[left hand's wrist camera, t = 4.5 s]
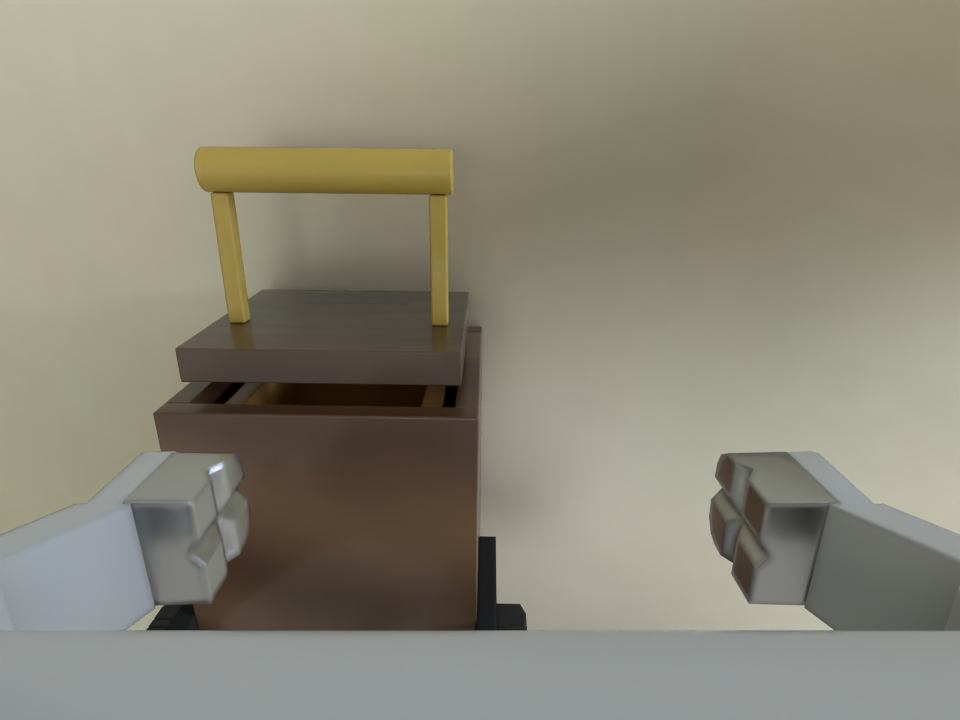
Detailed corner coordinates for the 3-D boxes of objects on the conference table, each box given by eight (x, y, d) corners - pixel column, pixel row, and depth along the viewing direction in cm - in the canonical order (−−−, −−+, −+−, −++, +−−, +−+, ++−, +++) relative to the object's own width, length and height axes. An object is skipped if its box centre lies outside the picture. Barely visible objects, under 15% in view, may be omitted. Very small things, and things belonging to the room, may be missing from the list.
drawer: (244, 144, 24) (137, 147, 17) (469, 147, 24) (460, 151, 17) (290, 518, 31) (228, 638, 24) (468, 521, 31) (461, 643, 23)
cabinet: (261, 323, 28) (151, 413, 19) (482, 326, 28) (478, 418, 19) (290, 553, 33) (214, 713, 24) (479, 557, 33) (476, 718, 24)
